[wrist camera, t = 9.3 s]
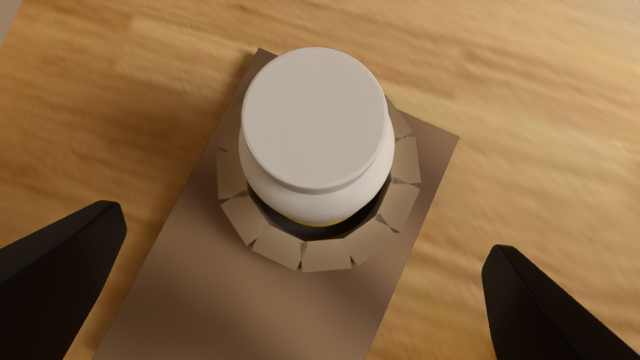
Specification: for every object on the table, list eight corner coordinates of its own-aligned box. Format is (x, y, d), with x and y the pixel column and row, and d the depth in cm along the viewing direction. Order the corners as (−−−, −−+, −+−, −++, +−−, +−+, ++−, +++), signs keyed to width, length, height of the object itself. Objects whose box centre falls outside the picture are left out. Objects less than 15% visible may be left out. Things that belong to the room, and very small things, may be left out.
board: (315, 463, 18) (315, 497, 16) (103, 353, 19) (72, 369, 17) (452, 141, 21) (470, 128, 19) (261, 56, 22) (254, 32, 19)
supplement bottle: (260, 133, 20) (204, 33, 10) (360, 119, 20) (398, 6, 10) (273, 235, 19) (225, 230, 9) (377, 219, 19) (437, 198, 10)
